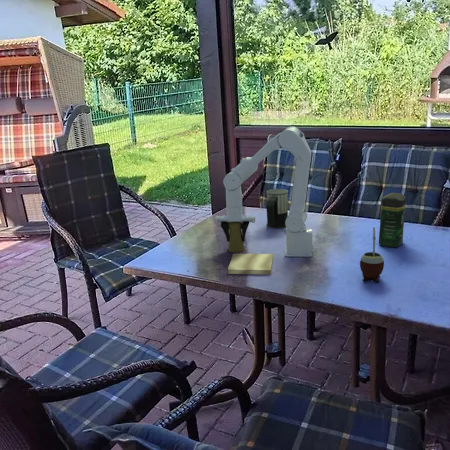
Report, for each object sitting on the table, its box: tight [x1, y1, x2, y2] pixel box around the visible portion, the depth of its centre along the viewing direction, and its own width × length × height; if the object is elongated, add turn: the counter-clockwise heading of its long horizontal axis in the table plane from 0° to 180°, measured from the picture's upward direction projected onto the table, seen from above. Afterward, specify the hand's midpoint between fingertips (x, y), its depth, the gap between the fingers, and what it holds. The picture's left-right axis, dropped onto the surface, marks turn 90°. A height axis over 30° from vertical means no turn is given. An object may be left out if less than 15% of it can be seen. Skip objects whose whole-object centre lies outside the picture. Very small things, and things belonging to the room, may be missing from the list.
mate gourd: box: [359, 227, 385, 284], centre depth 149 cm, size 8×8×15 cm
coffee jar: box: [378, 192, 407, 248], centre depth 176 cm, size 10×8×19 cm
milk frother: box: [265, 188, 289, 229], centre depth 200 cm, size 14×16×15 cm
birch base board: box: [227, 253, 274, 275], centre depth 166 cm, size 14×14×2 cm
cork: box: [228, 222, 245, 254], centre depth 179 cm, size 6×6×11 cm
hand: (236, 240), depth 180 cm, fingers closed on cork, 5 cm apart
